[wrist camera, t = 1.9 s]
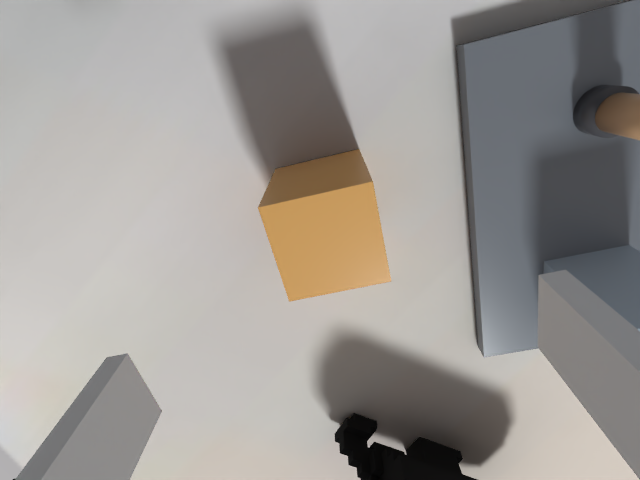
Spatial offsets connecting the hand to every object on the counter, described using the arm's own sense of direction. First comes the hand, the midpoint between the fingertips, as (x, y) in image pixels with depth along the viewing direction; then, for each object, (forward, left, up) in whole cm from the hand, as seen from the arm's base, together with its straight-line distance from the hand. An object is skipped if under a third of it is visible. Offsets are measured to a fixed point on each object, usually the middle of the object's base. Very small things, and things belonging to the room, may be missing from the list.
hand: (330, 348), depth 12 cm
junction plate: (+4, +16, -14) cm, 22 cm away
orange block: (0, 0, -14) cm, 14 cm away
